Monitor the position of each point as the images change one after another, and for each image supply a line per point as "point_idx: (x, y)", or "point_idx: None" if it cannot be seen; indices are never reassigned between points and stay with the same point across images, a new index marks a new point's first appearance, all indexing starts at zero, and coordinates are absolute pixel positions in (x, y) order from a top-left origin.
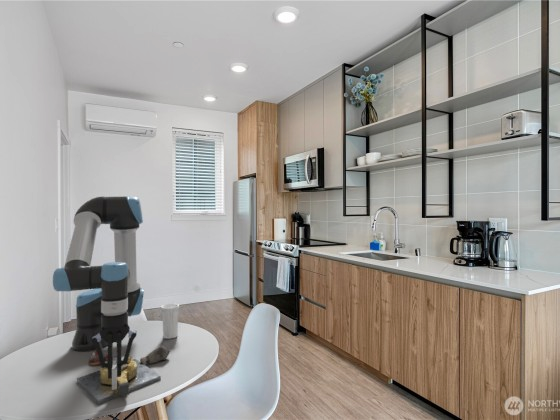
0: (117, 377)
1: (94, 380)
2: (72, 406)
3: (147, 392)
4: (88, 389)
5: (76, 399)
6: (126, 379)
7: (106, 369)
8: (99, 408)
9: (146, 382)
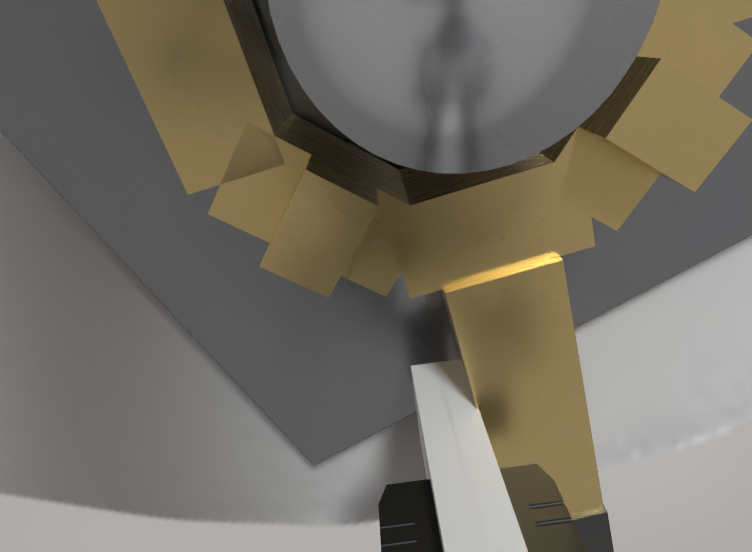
0: (482, 427)
1: (85, 16)
2: (104, 419)
3: (711, 354)
4: (124, 252)
5: (75, 322)
6: (590, 458)
7: (222, 33)
8: (343, 484)
9: (745, 230)
